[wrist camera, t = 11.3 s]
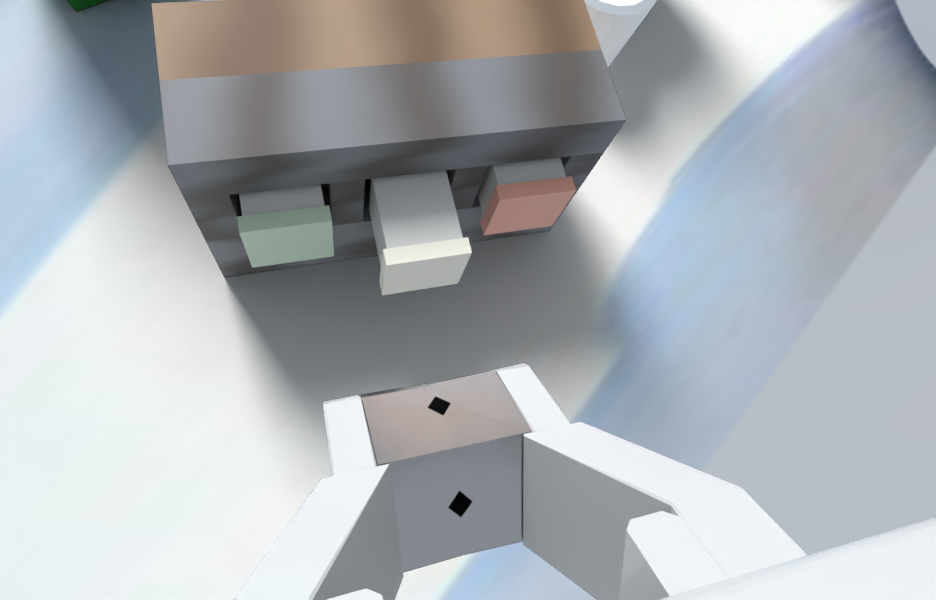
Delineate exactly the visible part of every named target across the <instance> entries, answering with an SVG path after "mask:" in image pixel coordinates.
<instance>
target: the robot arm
mask: <svg viewBox="0 0 936 600" xmlns="http://www.w3.org/2000/svg"><path fill="white" fill-rule="evenodd" d="M360 397H361V398H360ZM360 397H359V396H358V395H355V396H350V397H345V398H340V399H335V400H330V401H325V402H324V405H323V410H324V417H325V425H326V432H327V440H328V447H329V455H330V462H331V470H332V476H330V477H326V478H322V479H321V480H320V481H319V483H318V484H317V485H316V487H315V488H314V490H313V491H312V492H311V494H310V495H309V496H308V498H307V499H306V501H305V502H304V503H303V505H302V506H301V507H300V509H299V510H298V512H297V513H296V514H295V516H294V517H293V518H292V520H291V521H290V523H289V524H288V525H287V527H286V528H285V529H284V531H283V532H282V534H281V535H280V536H279V538H278V539H277V540H276V542H275V543H274V545H273V546H272V547H271V549H270V550H269V551H268V553H267V554H266V556H265V557H264V558H263V560H262V561H261V563H260V564H259V565H258V567H257V568H256V569H255V571H254V572H253V574H252V575H251V576H250V578H249V579H248V580H247V582H246V583H245V585H244V586H243V587H242V589H241V590H240V591H239V593H238V594H237V596H236V597H235V598H234V600H395V597H396V595H397V592H398V589H399V587H400V584H401V581H402V578H403V573H404V572H407V571H410V570H414V569H417V568H421V567H424V566H428V565H431V564H435V563H438V562H441V561H445V560H448V559H452V558H455V557H459V556H462V555H466V554H471V553H475V552H479V551H484V550H488V549H492V548H497V547H501V546H505V545H510V544H514V543H518V542H523V545H525V546H526V547H527V548H529V549H530V550H531V551H533V552H534V553H535V554H537V555H538V556H539V557H541V558H542V559H543V560H545V561H546V562H547V563H549V564H550V565H551V566H553V567H554V568H555V569H557V570H558V571H559V572H561V573H562V574H563V575H565V576H566V577H567V578H569V579H570V580H571V581H573V582H574V583H575V584H577V585H578V586H579V587H581V588H582V589H583V590H585V591H586V592H587V593H589V594H590V595H591V596H593V597H594V598H595V599H597V600H936V517H934V518H930V519H927V520H923V521H920V522H917V523H913V524H910V525H907V526H903V527H900V528H897V529H893V530H890V531H887V532H883V533H880V534H877V535H873V536H870V537H866V538H863V539H860V540H857V541H853V542H850V543H847V544H843V545H840V546H836V547H833V548H830V549H827V550H823V551H820V552H816V553H813V554H810V555H806V554H805V553H804V552H803V551H802V550H801V549H800V548H799V547H798V546H797V545H796V543H795V542H794V541H793V540H792V539H791V538H790V537H789V536H788V535H787V534H786V533H785V532H784V531H783V530H782V529H781V528H780V527H779V526H778V525H777V524H776V523H775V522H774V521H773V520H772V519H771V518H770V517H769V516H768V515H767V514H766V513H765V512H764V510H762V509H761V508H760V507H759V505H758V504H757V503H756V502H755V501H754V500H753V499H752V498H751V497H750V496H749V495H748V494H747V493H746V492H745V491H744V490H743V489H742V488H740V487H738V486H736V485H733V484H731V483H728V482H726V481H723V480H721V479H718V478H716V477H714V476H711V475H709V474H706V473H704V472H702V471H699V470H697V469H694V468H692V467H689V466H687V465H685V464H682V463H680V462H677V461H675V460H672V459H670V458H668V457H665V456H663V455H660V454H658V453H655V452H653V451H651V450H648V449H646V448H643V447H641V446H638V445H636V444H633V443H631V442H629V441H626V440H624V439H621V438H619V437H616V436H614V435H612V434H609V433H607V432H604V431H602V430H599V429H597V428H595V427H592V426H590V425H587V424H585V423H582V422H578V423H573V424H571V423H570V421H569V420H568V418H567V417H566V416H565V414H564V413H563V412H562V410H561V409H560V408H559V406H558V405H557V403H556V402H555V401H554V399H553V398H552V397H551V395H550V394H549V392H548V391H547V390H546V388H545V387H544V386H543V384H542V383H541V382H540V380H539V379H538V377H537V376H536V375H535V373H534V372H533V371H532V369H531V368H530V366H529V365H527V364H524V363H522V364H517V365H513V366H508V367H504V368H500V369H495V370H492V371H488V372H484V373H479V374H474V375H470V376H465V377H460V378H455V379H451V380H446V381H441V382H436V383H432V384H428V383H427V384H421V385H415V386H409V387H403V388H397V389H391V390H386V391H380V392H374V393H368V394H362V395H360Z"/></svg>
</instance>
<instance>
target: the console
mask: <svg viewBox="0 0 936 600" xmlns="http://www.w3.org/2000/svg"><path fill="white" fill-rule="evenodd" d="M152 13H153V23H154V33H155V43H156V53H157V63H158V73H159V83H160V93H161V103H162V112H163V122H164V132H165V142H166V152H167V162H168V167H169V169H170V171H171V173H172V175H173V177H174V178H175V180H176V182H177V184H178V186H179V188H180V190H181V192H182V194H183V196H184V198H185V200H186V202H187V204H188V206H189V208H190V210H191V212H192V214H193V216H194V218H195V220H196V222H197V224H198V226H199V228H200V230H201V232H202V234H203V236H204V238H205V240H206V242H207V244H208V246H209V248H210V250H211V252H212V254H213V256H214V258H215V260H216V262H217V264H218V266H219V268H220V270H221V272H222V274H223V276H224V277H229V276H236V275H243V274H250V273H257V272H264V271H271V270H278V269H285V268H292V267H299V266H306V265H313V264H321V263H328V262H335V261H342V260H349V259H356V258H363V257H370V256H377V255H378V251H377V246H376V241H375V236H374V231H373V227H372V222H371V217H370V212H369V200H370V185H371V179H373V178H381V177H390V176H399V175H408V174H417V173H426V172H435V171H444V170H446V172H447V176H448V180H449V184H450V188H451V192H452V196H453V200H454V204H455V208H456V212H457V216H458V220H459V224H460V228H461V232H462V236H463V238H466V237H468V238H469V242H475V241H482V240H489V239H496V238H503V237H510V236H517V235H524V234H531V233H538V232H545V231H550V230H551V228H552V227H553V226H554V224H555V223H556V221H557V220H558V218H559V217H560V215H561V214H562V212H563V211H564V210H565V208H566V207H567V205H568V204H569V202H570V201H571V199H572V198H573V196H574V195H575V194H576V192H577V191H578V189H579V188H580V186H581V185H582V183H583V182H584V180H585V179H586V178H587V176H588V175H589V173H590V172H591V170H592V169H593V167H594V166H595V164H596V163H597V162H598V160H599V159H600V157H601V156H602V154H603V153H604V151H605V150H606V148H607V147H608V146H609V144H610V143H611V141H612V140H613V138H614V137H615V135H616V134H617V132H618V131H619V130H620V128H621V127H622V125H623V124H624V122H625V121H626V117H625V114H624V112H623V109H622V106H621V103H620V100H619V97H618V95H617V92H616V89H615V86H614V83H613V80H612V78H611V75H610V72H609V69H608V66H607V63H606V61H605V58H604V55H603V52H602V49H601V47H600V44H599V41H598V38H597V35H596V32H595V30H594V27H593V24H592V21H591V18H590V15H589V13H588V10H587V7H586V4H585V1H584V0H216V1H192V2H168V3H152ZM559 157H560V158H561V161H562V165H563V168H564V171H565V174H566V177H570V176H572V178H573V181H574V185H575V188H576V192H575V193H574V194H573V196H572V197H571V199H570V200H569V202H568V203H567V205H566V206H565V208H564V209H563V211H562V212H561V213H560V215H559V216H558V218H557V219H556V221H555V222H554V224H553V225H552V226H548V227H541V228H534V229H526V230H519V231H512V232H505V233H498V234H491V235H484V236H483V232H482V228H481V224H480V221H481V219H482V217H483V213H482V210H481V206H480V202H479V198H478V194H477V193H478V190H479V188H480V185H481V182H482V180H483V177H484V175H485V172H486V170H487V167H488V165H497V164H506V163H515V162H524V161H532V160H541V159H550V158H559ZM319 184H321V189H322V195H323V200H324V206H328V205H329V207H330V212H331V218H332V229H333V247H334V256H333V257H325V258H318V259H311V260H304V261H297V262H290V263H283V264H276V265H268V266H261V267H254V268H252V266H251V263H250V260H249V258H248V255H247V252H246V250H245V247H244V244H243V242H242V239H241V236H240V234H239V227H238V220H237V216H242V211H241V203H240V196H239V193H248V192H257V191H266V190H275V189H284V188H293V187H302V186H310V185H319Z"/></svg>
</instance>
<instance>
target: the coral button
mask: <svg viewBox="0 0 936 600" xmlns="http://www.w3.org/2000/svg"><path fill="white" fill-rule="evenodd" d="M575 192H576V188H575V185H574V181H573V178H572V176H570V177H566V174H565V171H564V168H563V165H562V161H561V158H560V157H559V158H550V159H541V160H532V161H524V162H515V163H506V164H497V165H488V167H487V170H486V172H485V175H484V177H483V180H482V182H481V185H480V188H479V190H478V193H477V194H478V198H479V202H480V206H481V210H482V213H483V217H482V219H481V221H480V224H481V228H482V232H483V236H484V235H491V234H498V233H505V232H512V231H519V230H526V229H534V228H541V227H548V226H552V225H553V224H554V222H555V221H556V219H557V218H558V216H559V215H560V213H561V212H562V211H563V209H564V208H565V206H566V205H567V203H568V202H569V200H570V199H571V197H572V196H573V194H574V193H575Z"/></svg>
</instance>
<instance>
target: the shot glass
mask: <svg viewBox="0 0 936 600" xmlns="http://www.w3.org/2000/svg"><path fill="white" fill-rule="evenodd" d="M584 1H585V4H586V7H587V10H588V13H589V15H590V18H591V21H592V24H593V27H594V30H595V32H596V35H597V38H598V41H599V44H600V47H601V49H602V52H603V55H604V58H605V61H606V63H607V66H608V67H609V66H610V64H611V63H612V62H613V60H614V59H615V58H616V56H617V55H618V53H619V52H620V51H621V49H622V48H623V47H624V45H625V44H626V43H627V41H628V40H629V38H630V37H631V36H632V34H633V33H634V32H635V30H636V29H637V28H638V26H639V25H640V23H641V22H642V21H643V19H644V18H645V17H646V15H647V14H648V13H649V11H650V10H651V8H652V7H653V6H654V4H655V3H656V1H657V0H584Z"/></svg>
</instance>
